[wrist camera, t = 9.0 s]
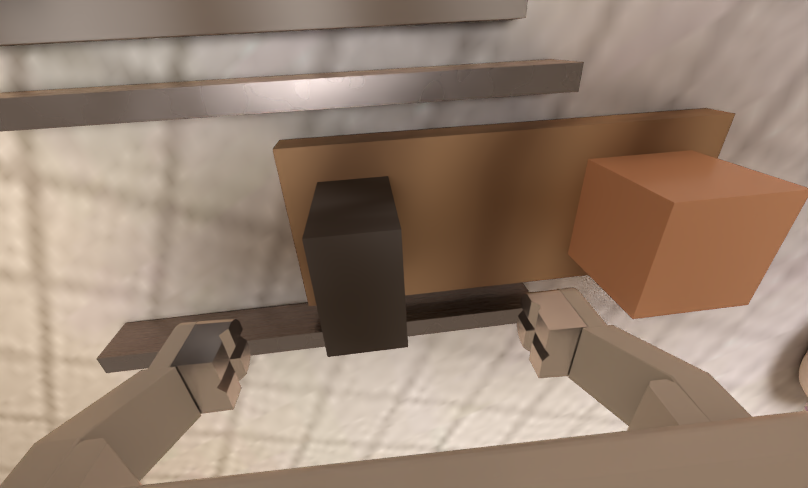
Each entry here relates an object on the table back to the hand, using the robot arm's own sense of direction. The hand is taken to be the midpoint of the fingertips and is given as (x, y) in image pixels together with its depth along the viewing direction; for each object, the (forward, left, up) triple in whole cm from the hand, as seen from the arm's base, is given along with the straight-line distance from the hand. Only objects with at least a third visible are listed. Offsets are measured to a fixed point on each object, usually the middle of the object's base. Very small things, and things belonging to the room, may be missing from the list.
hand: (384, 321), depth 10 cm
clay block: (-12, 0, -7) cm, 14 cm away
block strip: (-6, 0, -8) cm, 10 cm away
